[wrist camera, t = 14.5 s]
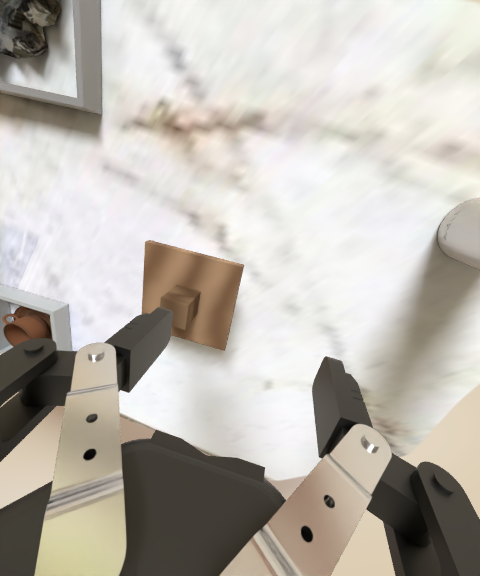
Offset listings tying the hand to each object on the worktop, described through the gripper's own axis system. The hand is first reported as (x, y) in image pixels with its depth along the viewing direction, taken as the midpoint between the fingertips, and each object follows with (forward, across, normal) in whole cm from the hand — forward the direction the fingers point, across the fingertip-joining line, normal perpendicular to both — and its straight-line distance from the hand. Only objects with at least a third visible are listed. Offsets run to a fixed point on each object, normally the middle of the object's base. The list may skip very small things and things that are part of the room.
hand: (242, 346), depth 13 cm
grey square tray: (+33, +52, +36) cm, 71 cm away
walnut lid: (+24, +11, +11) cm, 28 cm away
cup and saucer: (+34, +51, +36) cm, 71 cm away
